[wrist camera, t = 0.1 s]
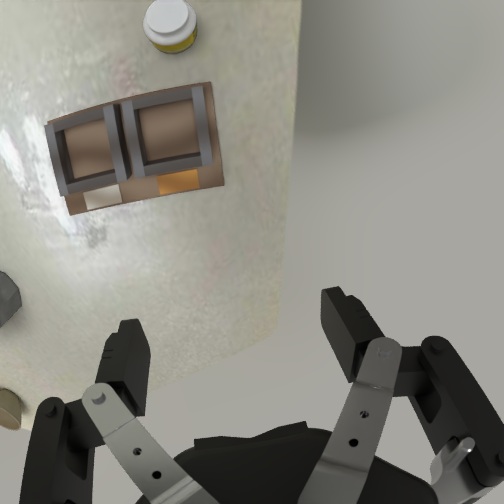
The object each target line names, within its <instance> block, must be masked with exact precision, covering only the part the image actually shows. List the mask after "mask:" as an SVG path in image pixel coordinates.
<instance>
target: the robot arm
mask: <svg viewBox="0 0 504 504" xmlns="http://www.w3.org/2000/svg"><path fill="white" fill-rule="evenodd" d="M321 324H322V328H323V330H324V332H325V334H326V337H327V339H328V341H329V343H330V345H331V347H332V349H333V351H334V353H335V355H336V357H337V359H338V361H339V364H340V366H341V368H342V370H343V372H344V374H345V376H346V378H347V380H348V383H351V382H353V385H352V387H351V389H350V392H349V394H348V397H347V399H346V402H345V404H344V407H343V409H342V412H341V414H340V416H339V419H338V421H337V423H336V426H335V428H334V430H333V432H331V431H328V430H324V429H317V428H308V427H307V423H306V421H303V422H298V423H294V424H289V425H285V426H280V427H277V428H274V429H272V430H270V431H267V432H265V433H263V434H260V435H258V436H255V437H252V438H240V437H239V438H238V437H226V436H218V437H210V438H200V439H194V447H192V448H189V449H187V450H185V451H183V452H181V453H180V454H178V455H177V456H176V457H174V459H172V458H171V457H170V456H169V455H168V454H167V452H166V451H165V450H164V449H163V448H162V447H161V446H160V445H159V444H158V443H157V441H156V440H155V439H154V438H153V437H152V436H151V434H150V433H149V432H148V431H147V430H146V429H145V427H144V426H143V425H142V424H141V423H140V422H139V420H138V419H137V418H136V417H137V416H145V407H146V396H147V385H148V376H149V367H150V358H151V354H150V347H149V344H148V341H147V339H146V336H145V334H144V331H143V329H142V326H141V324H140V321H139V320H138V319H129V320H122V321H121V322H120V325H119V329H118V332H117V333H112V334H111V335H110V337H109V338H108V339H107V340H106V342H105V346H104V350H103V351H104V352H103V353H102V357H101V358H102V359H101V361H100V365H99V368H98V372H97V376H96V380H95V384H93V385H91V386H90V387H88V388H87V389H86V390H85V392H84V393H83V396H82V399H79V400H76V401H73V402H69V403H66V404H65V403H64V402H63V401H62V400H61V399H60V398H58V397H50V398H47V399H45V400H44V401H42V402H41V404H40V405H39V406H38V409H37V412H36V416H35V420H34V424H33V428H32V432H31V437H30V441H29V446H28V451H27V456H26V462H25V467H24V473H23V479H22V486H21V493H20V501H19V504H92V488H93V469H94V453H95V447H98V446H101V445H105V444H106V445H107V446H108V448H109V449H110V450H111V452H112V453H113V455H114V456H115V458H116V459H117V460H118V462H119V463H120V465H121V466H122V467H123V469H124V470H125V471H126V473H127V474H128V475H129V477H130V478H131V479H132V481H133V482H134V483H135V484H136V486H137V487H138V488H139V489H140V490H141V492H142V493H143V495H142V496H141V497H140V499H139V500H138V501H137V502H136V503H135V504H472V503H474V502H476V501H477V500H479V499H480V498H481V497H483V496H484V495H486V494H487V493H488V492H490V491H491V490H492V489H493V488H495V487H496V486H497V485H498V484H500V483H501V482H502V481H504V424H503V422H502V421H501V419H500V418H499V416H498V414H497V412H496V411H495V409H494V408H493V406H492V404H491V403H490V401H489V400H488V398H487V396H486V395H485V393H484V392H483V390H482V389H481V387H480V386H479V384H478V383H477V381H476V380H475V378H474V376H473V375H472V373H471V372H470V370H469V369H468V368H467V366H466V365H465V363H464V362H463V360H462V359H461V357H460V356H459V355H458V353H457V352H456V350H455V349H454V348H453V346H452V345H451V344H450V342H449V341H448V340H446V339H445V338H443V337H440V336H429V337H427V338H425V339H424V340H423V341H422V344H421V346H413V347H403V346H400V344H399V343H398V342H397V341H395V340H394V339H391V338H387V337H385V336H384V334H383V333H382V331H381V330H380V328H379V327H378V325H377V324H376V322H375V321H374V320H373V318H372V316H370V313H369V312H368V311H367V310H366V308H365V306H364V305H363V303H362V302H361V301H360V300H359V299H357V298H356V297H354V296H353V295H349V296H346V295H345V294H344V293H343V291H342V289H341V288H340V287H339V286H337V287H332V288H327V289H323V290H322V292H321ZM401 396H408V398H409V400H410V402H411V404H412V406H413V408H414V410H415V412H416V414H417V416H418V419H419V420H420V423H421V425H422V427H423V429H424V431H425V433H426V435H427V437H428V440H429V442H430V444H431V446H432V448H433V451H434V453H435V455H436V457H435V458H434V459H433V461H432V463H431V466H430V471H431V476H432V481H431V485H429V484H428V483H427V482H426V481H424V480H422V479H421V478H418V477H416V476H414V475H412V474H410V473H408V472H406V471H404V470H402V469H400V468H398V467H396V466H394V465H392V464H390V463H389V462H387V461H385V460H383V459H381V458H379V457H377V456H375V452H376V449H377V446H378V443H379V440H380V437H381V434H382V431H383V427H384V425H385V421H386V418H387V414H388V411H389V407H390V404H391V400H392V397H401Z"/></svg>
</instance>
